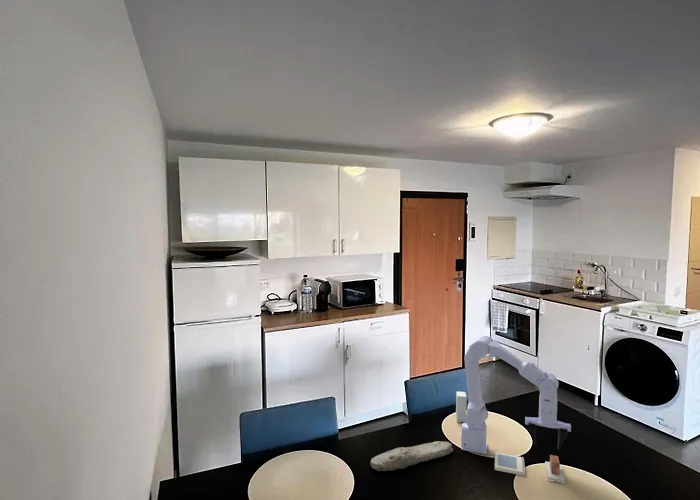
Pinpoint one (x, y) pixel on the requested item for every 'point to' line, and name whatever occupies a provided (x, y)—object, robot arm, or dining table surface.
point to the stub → (554, 469)
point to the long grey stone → (410, 455)
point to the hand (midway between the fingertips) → (546, 446)
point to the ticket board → (509, 463)
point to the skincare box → (461, 406)
